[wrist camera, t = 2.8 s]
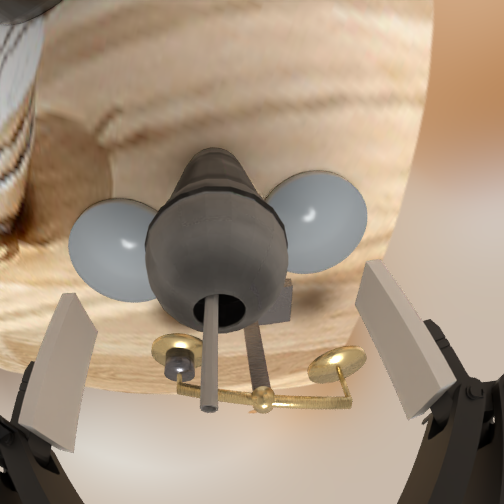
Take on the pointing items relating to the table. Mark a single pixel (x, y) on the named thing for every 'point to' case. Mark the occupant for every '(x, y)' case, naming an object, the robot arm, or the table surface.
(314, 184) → the dish light side
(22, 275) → the table surface
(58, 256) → the table surface
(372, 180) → the table surface
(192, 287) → the beverage cup
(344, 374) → the balance
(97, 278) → the grey flat disc
